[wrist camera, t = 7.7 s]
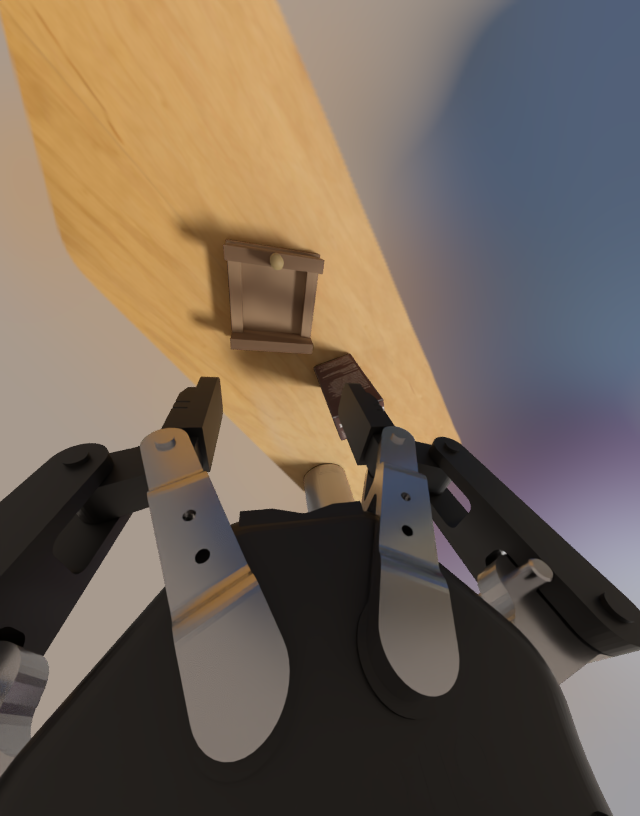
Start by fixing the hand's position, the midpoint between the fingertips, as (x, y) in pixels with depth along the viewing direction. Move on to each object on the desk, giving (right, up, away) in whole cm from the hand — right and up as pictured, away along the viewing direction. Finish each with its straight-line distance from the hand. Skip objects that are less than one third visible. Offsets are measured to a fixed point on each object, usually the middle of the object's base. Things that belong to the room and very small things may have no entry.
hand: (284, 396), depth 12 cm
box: (+4, +5, +25) cm, 26 cm away
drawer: (-4, +13, +17) cm, 22 cm away
